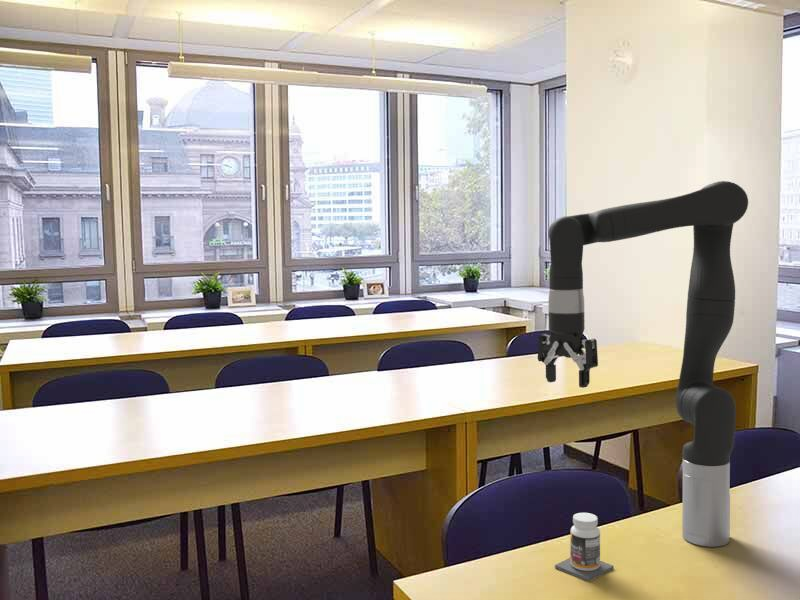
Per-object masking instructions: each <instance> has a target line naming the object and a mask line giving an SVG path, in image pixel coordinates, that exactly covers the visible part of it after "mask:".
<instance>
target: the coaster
mask: <svg viewBox="0 0 800 600" xmlns="http://www.w3.org/2000/svg"><path fill="white" fill-rule="evenodd" d="M614 567H615V566H614V565H613V564H610V563H607V562H605V561H603V560H600V566H599V568H598V569H596V570H593V571H582V570H578V569H576V568H574V567H573V566H572V565H571V562H570V557H569V558H566V559H565V560H563V561H560V562H559V563H556V564H554V568H555V569H557V570H559V571H561V572H563V573H566V574H569V575H572V576H574V577H576V578H579V579H582V580H584V581H586V582H591V581H593V580H595V579H596V578H598V577H600V576H602V575H604V574H606V573H609V572H610V571H612V570H614V569H615V568H614Z"/></svg>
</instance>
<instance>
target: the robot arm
mask: <svg viewBox="0 0 800 600" xmlns="http://www.w3.org/2000/svg"><path fill="white" fill-rule="evenodd" d="M748 207H749V199H748V194H747V192H746V191H745V189H743V188H742V187H741V186H740V185H739V184H737V183H735V182H731V181H727V180H721V181H720V180H719V181H716V182H713V183H709V184H707V185H705V186H703V187H702V188H701V189H698V190H695V191H692V192H690V193H689V192H688V193H686V194H682V195H678V196H675V197H669V198H665V199H657V200H651V201H643V202H636V203H631V204H624V205H618V206H612V207H608V208H604V209H600V210H599V209H598V210H597V211H594V212H588V213H581V214H580V213H579V214H574V215H567V216H562V217H558V218H556V219H555V220H553V222H552V223H551V224H550V226H549V227H548V231H547V233H548V234H547V235H548V239H549V252H550V266H549V271H548V273H549V287H548V288H549V290H548V291H549V292H548V330H549V332H550V334H548V333H542V334H539V335H538V338H537V361H538V362H542V363H543V364H544V365H545V379H546V380H547V381H546V382H547V383H554V382H556V380H557V365H556V364H555V363H556V362H557V360H558V359H559V358H560V357H565V358H569V359H571V360H572V361H573V363H575V364H576V365H577V367H578V368H579V370H578V387H579V388H584V389H585V388H586V387H588V386H589V385H590V380H591V379H590V376H591V375H590V370H592V368H593V369H594V368H596V367H598V366H599V359H598V358H599V356H598V342H597V339H596V338H591V339H585V337H584V335H583V334H584V332H585V326H586V325H585V295H584V277H583V276H584V274H583V255H584V246H587V245H592V244H596V243H609V242H610V243H611V242H616V241H621V240H628V239H632V238H637V237H643V236H645V235H650V234H654V233H658V232H663V231H667V230H671V229H676V228H678V229H679V228H683V227H691V226H693V252H692V259H691V266H690V271H689V272H690V273H689V279H688V280H689V281H688V290H687V300H686V302H687V303H686V315H685V316H686V317H685V333H684V340H683V341H684V343H683V352H682V353H683V354H682V355H683V356H682V362H681V367H680V374H679V378H678V379H679V380H678V384H677V387H676V388H677V390H676V396H675V407H676V411H677V413H678V416H679V417H680V418H681V419H682V420H683V421H685V422H686V423H688V424H690V425H693V426H694V430H693V431H694V434H693V440H691V441H689V442H686V443H684V445H683V446H682V520H681V522H682V525H681V526H682V527H681V529H682V538H683V539H684V540H685V541H687V542H689V543H691V544H694V545H696V546H701V547H707V548H709V547H712V548H715V547H716V548H717V547H723V546H725V545H728V544H729V542H730V535H731V534H730V533H731V531H730V530H731V494H730V491H731V489H730V484H731V483H730V479H731V477H730V476H731V475H730V470H731V468H730V467H731V459H730V458H731V454H732V452H733V449H734V446H735V439H736V437H735V435H736V422H737V409H736V408H737V407H736V402H735V399H734V397H733V395H732V394H731V393H730V392H729V391H728V390H726V389H724V388H722V387H719V386H716V385H714V369H715V362H716V358H717V355H718V353H719V351H720V350H721V347H722V346H723V344H724V343H725V340H726V339H727V337H728V336H729V333H730V332H731V330H732V326H733V324H734V319H735V307H736V306H735V304H736V284H735V276H734V271H733V265H732V260H731V259H732V258H731V242H732V235H733V229H734V224H736V223H737V222H738V221H740V220H741V219H742V218H743V217H744V215H745V214H746V212H747V209H748ZM550 345H551V347H550Z"/></svg>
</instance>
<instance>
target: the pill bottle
mask: <svg viewBox="0 0 800 600" xmlns="http://www.w3.org/2000/svg"><path fill="white" fill-rule="evenodd" d="M598 521H599V519H598V516H597V515H595V514H593V513H589V512H578V513H575V514H573V516H572V523H573V525H572V526H571V528H570V546H569V547H570V548H569V549H570V551H569V552H570V554H569V555H570V557H569V558H570V562H571V565H572V566H573V567H574V568H576V569H578V570H582V571H593V570H596V569H598V568H599V566H600V561H601V532H600V528H599V527H598V524H599V523H598Z"/></svg>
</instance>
